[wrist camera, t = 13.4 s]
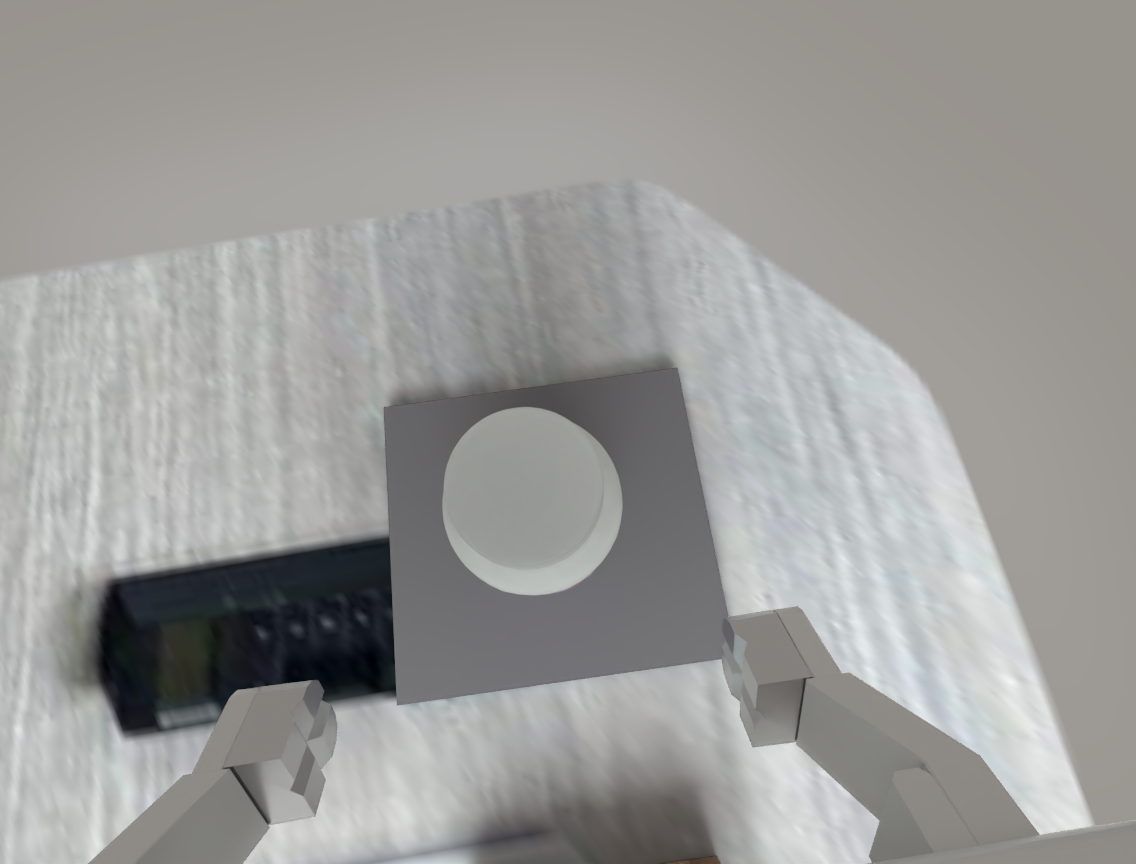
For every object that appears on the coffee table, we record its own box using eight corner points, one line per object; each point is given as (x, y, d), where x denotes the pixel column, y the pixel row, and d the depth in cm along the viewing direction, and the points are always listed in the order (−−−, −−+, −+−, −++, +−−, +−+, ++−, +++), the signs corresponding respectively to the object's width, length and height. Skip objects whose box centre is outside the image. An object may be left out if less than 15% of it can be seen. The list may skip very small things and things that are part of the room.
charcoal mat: (402, 702, 22) (396, 705, 21) (388, 411, 25) (383, 407, 25) (732, 655, 22) (736, 657, 21) (675, 372, 25) (677, 367, 25)
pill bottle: (459, 498, 23) (379, 433, 14) (573, 442, 24) (568, 344, 15) (515, 620, 22) (466, 637, 13) (634, 557, 23) (672, 529, 13)
